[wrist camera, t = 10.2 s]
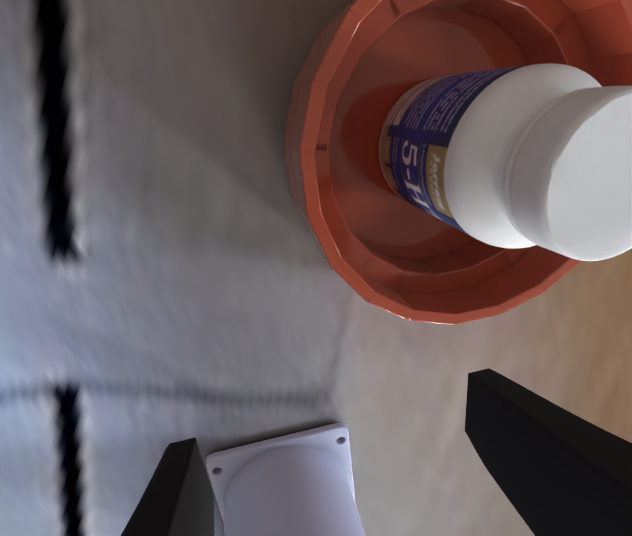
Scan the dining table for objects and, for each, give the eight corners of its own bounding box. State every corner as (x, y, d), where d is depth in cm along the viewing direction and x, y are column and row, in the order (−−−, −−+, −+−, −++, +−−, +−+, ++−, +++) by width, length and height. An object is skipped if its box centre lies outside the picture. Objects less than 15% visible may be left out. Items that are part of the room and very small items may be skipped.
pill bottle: (350, 143, 16) (472, 177, 8) (446, 47, 15) (683, -20, 7) (422, 228, 18) (575, 323, 10) (509, 147, 18) (745, 180, 10)
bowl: (539, 255, 21) (614, 290, 17) (302, 300, 19) (323, 353, 15) (578, -41, 16) (700, -94, 12) (259, -19, 14) (272, -72, 10)
